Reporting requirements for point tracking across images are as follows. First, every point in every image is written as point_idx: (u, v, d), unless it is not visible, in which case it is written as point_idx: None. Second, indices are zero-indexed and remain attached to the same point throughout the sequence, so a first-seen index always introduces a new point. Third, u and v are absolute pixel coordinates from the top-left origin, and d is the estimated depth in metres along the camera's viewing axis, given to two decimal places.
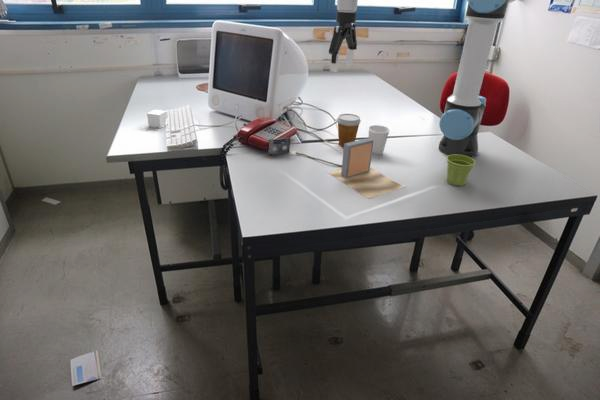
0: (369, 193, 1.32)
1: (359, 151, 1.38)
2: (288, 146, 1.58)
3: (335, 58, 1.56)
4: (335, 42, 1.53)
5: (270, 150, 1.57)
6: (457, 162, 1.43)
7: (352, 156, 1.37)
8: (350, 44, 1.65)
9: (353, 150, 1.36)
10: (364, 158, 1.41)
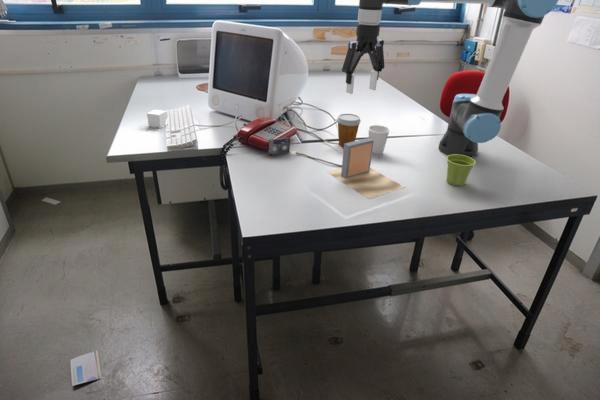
0: (369, 193, 1.32)
1: (359, 151, 1.38)
2: (288, 146, 1.58)
3: (350, 78, 1.39)
4: (348, 60, 1.35)
5: (270, 150, 1.57)
6: (457, 162, 1.43)
7: (352, 156, 1.37)
8: (374, 64, 1.42)
9: (353, 150, 1.36)
10: (364, 158, 1.41)
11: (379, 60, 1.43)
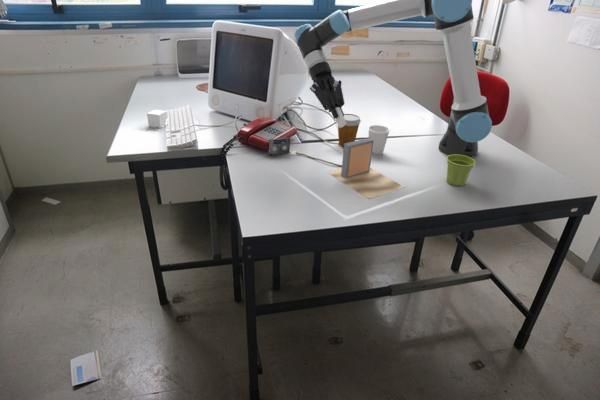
0: (369, 193, 1.32)
1: (359, 151, 1.38)
2: (288, 146, 1.59)
3: (335, 112, 1.42)
4: (321, 98, 1.41)
5: (270, 150, 1.57)
6: (457, 162, 1.43)
7: (352, 156, 1.37)
8: (334, 100, 1.44)
9: (353, 150, 1.36)
10: (364, 158, 1.41)
11: (339, 98, 1.45)
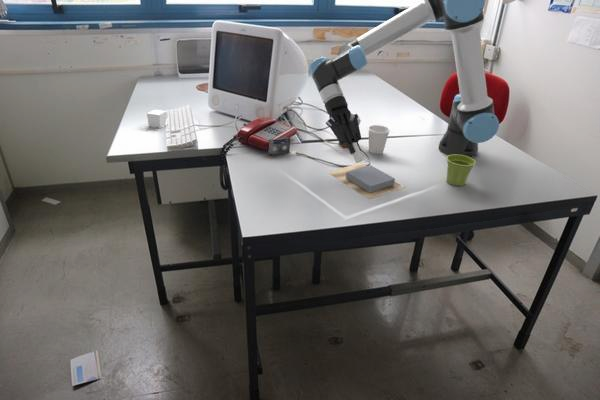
0: (369, 193, 1.32)
1: None
2: (288, 146, 1.59)
3: (352, 147, 1.39)
4: (338, 134, 1.38)
5: (270, 150, 1.57)
6: (457, 162, 1.43)
7: None
8: (351, 135, 1.41)
9: None
10: None
11: (355, 132, 1.42)
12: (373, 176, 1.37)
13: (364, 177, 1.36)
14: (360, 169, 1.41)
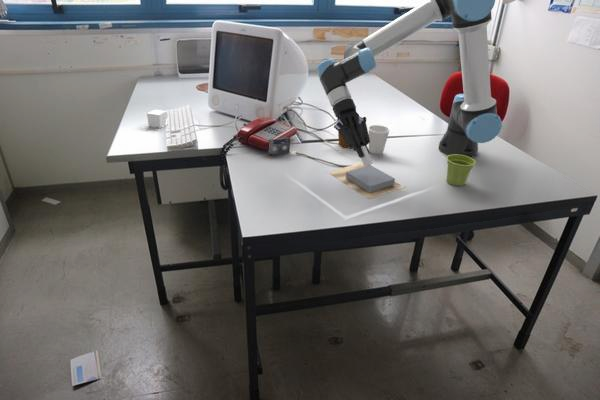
0: (369, 193, 1.32)
1: None
2: (288, 146, 1.58)
3: (361, 151, 1.36)
4: (347, 137, 1.36)
5: (270, 150, 1.57)
6: (457, 162, 1.43)
7: None
8: (359, 138, 1.38)
9: None
10: None
11: (364, 135, 1.40)
12: (373, 176, 1.37)
13: (364, 177, 1.36)
14: (360, 169, 1.41)
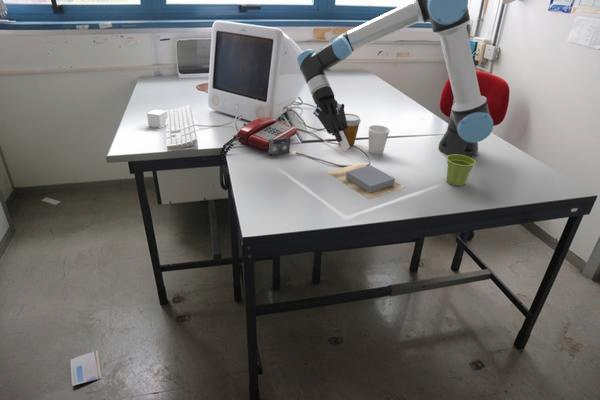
0: (369, 193, 1.32)
1: None
2: (288, 146, 1.58)
3: (338, 135, 1.44)
4: (325, 123, 1.44)
5: (270, 150, 1.57)
6: (457, 162, 1.43)
7: None
8: (337, 124, 1.46)
9: None
10: None
11: (342, 121, 1.48)
12: (373, 176, 1.37)
13: (364, 177, 1.36)
14: (360, 169, 1.41)
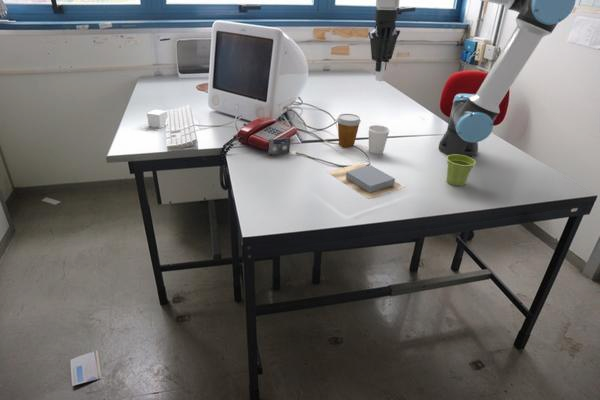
0: (369, 193, 1.32)
1: None
2: (288, 146, 1.58)
3: (379, 66, 1.44)
4: (374, 50, 1.40)
5: (270, 150, 1.57)
6: (457, 162, 1.43)
7: None
8: (384, 52, 1.43)
9: None
10: None
11: (389, 49, 1.44)
12: (373, 176, 1.37)
13: (364, 177, 1.36)
14: (360, 169, 1.41)
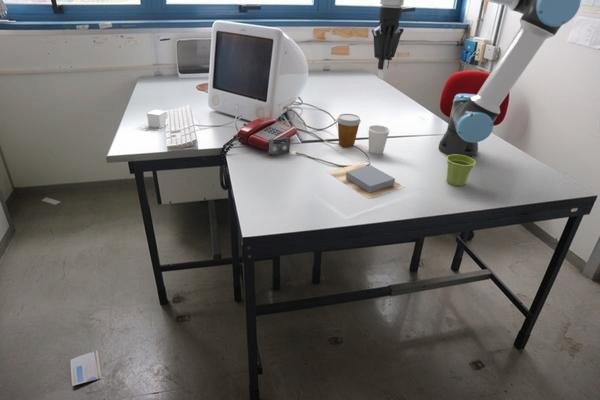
0: (369, 193, 1.32)
1: None
2: (288, 146, 1.58)
3: (382, 64, 1.43)
4: (377, 47, 1.39)
5: (270, 150, 1.57)
6: (457, 162, 1.43)
7: None
8: (387, 50, 1.43)
9: None
10: None
11: (392, 47, 1.43)
12: (373, 176, 1.37)
13: (364, 177, 1.36)
14: (360, 169, 1.41)
